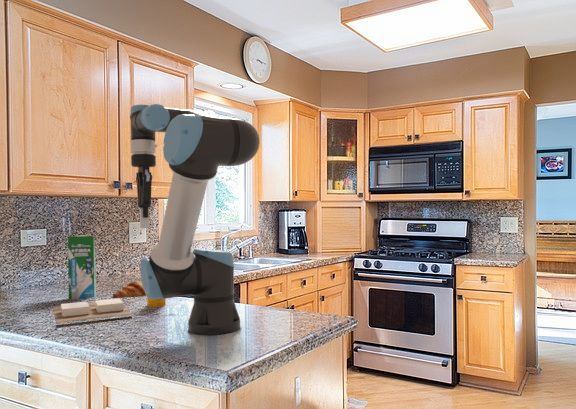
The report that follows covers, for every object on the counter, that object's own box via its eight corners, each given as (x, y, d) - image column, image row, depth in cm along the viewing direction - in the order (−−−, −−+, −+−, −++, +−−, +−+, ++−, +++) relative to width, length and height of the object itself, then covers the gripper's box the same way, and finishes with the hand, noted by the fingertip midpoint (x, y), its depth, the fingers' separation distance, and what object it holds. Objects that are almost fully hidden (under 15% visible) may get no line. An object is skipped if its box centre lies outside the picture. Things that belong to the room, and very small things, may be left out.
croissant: (158, 301, 199) (154, 283, 202) (170, 292, 193) (165, 274, 196) (110, 308, 184) (105, 289, 187) (121, 299, 178) (116, 279, 181)
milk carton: (95, 296, 193) (95, 234, 193) (94, 300, 185) (93, 235, 185) (71, 297, 191) (70, 235, 190) (68, 302, 182) (67, 236, 182)
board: (132, 318, 154) (132, 314, 154) (56, 327, 144) (56, 322, 144) (119, 304, 177) (119, 300, 177) (53, 311, 167) (53, 306, 167)
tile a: (87, 309, 162) (89, 314, 154) (60, 311, 158) (62, 317, 150) (86, 301, 162) (89, 306, 154) (60, 304, 158) (62, 309, 150)
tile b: (119, 305, 167) (123, 310, 159) (94, 308, 163) (97, 313, 155) (119, 298, 167) (123, 302, 159) (94, 300, 163) (97, 305, 155)
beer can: (160, 311, 164) (159, 267, 164) (144, 310, 165) (143, 267, 165) (168, 307, 170) (167, 265, 170) (152, 307, 171) (152, 265, 171)
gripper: (160, 152, 149) (161, 228, 149) (150, 156, 161) (152, 227, 161) (135, 151, 146) (136, 229, 146) (127, 156, 157) (128, 228, 157)
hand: (144, 228), depth 153 cm, fingers closed
